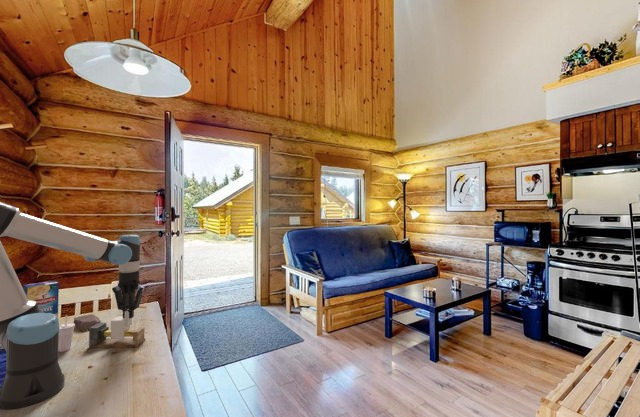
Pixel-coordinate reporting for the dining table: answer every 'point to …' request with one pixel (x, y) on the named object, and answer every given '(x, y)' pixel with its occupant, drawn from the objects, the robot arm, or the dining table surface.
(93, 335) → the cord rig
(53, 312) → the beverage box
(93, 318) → the stone
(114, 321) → the sleeve
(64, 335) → the smoothie
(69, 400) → the dining table surface
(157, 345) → the dining table surface
